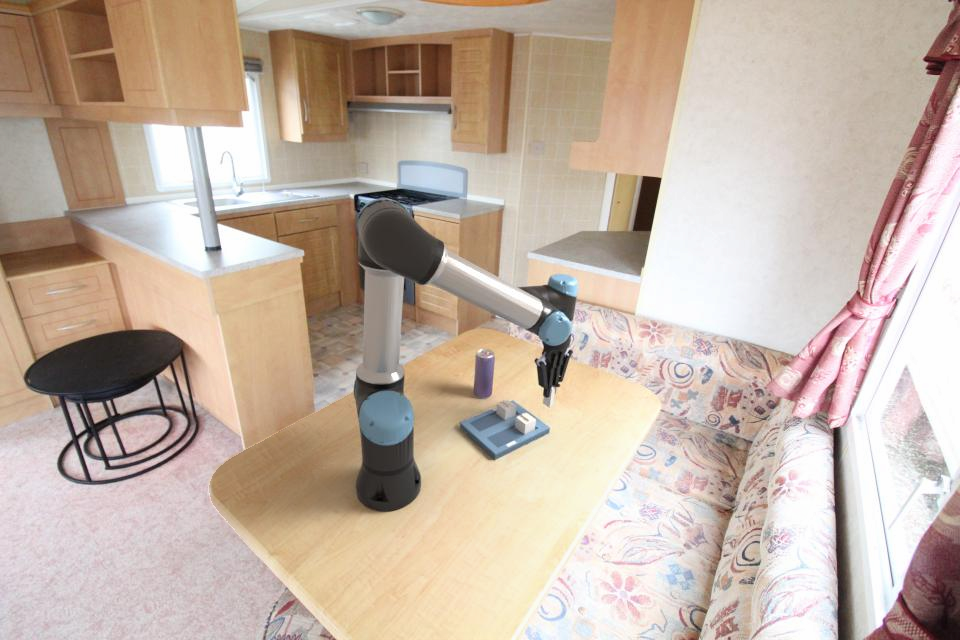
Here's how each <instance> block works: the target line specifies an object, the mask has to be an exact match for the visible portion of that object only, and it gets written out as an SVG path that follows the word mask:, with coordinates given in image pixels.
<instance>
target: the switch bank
mask: <svg viewBox="0 0 960 640" xmlns="http://www.w3.org/2000/svg"><path fill="white" fill-rule="evenodd" d="M510 401H511V402H512V403H513V404H515V405H516V414H515V416H514V417H511V418H509V419H507V420H504V419H503V418H502V417H500V416H499V415H498V414H496V411H497V406H496V407H494V408H493V407H492V408H491V409H488V410H486V411H483V412H481V413H479V414H476V415H474V416H472V417H469V418H467V419H464V420H462V421H460V422H459V428H460V430H462V432H464V433H465V434H466V435H467V436H469V437H470V439H472V440H473V441H474V442H475V444H477V445H478V446H479V447H480V448H481V449H483V451H484V452H486V453H487V454H488V455H489V456H490V457H491V458H492V459H494V461H496V460H498V459H500V458H502V457H504V456H506V455H508V454H511V453H512V452H515V451H516V450H519V449H520V448H522V447H524V446H526V445H528V444H530V443H532V442H534V441H536V440H538V439H540V438H543V437H544V436H546V435H549V434H550V430H551V427H550V426H549V425H547V424H546V423H545V422H543V421H542V420H541V419H539V418H538V417H536V416H535V415H534V414H532V413H531V412H530V411H528V410H527V409H526V408H524V407H523V406H522V405H520V404H519V403H517V402H516V401H515V400H514V399H513V400H510ZM526 412H527V413H528V414H529V415H531V416H532V417H533V418H535V419H536V425H535V430H533V431H531V432H529V433H527V434H525V435H524V434H523V433H522V432H520V431H519V430H518V429H517V428H515V422H516V417H517V416H520V415H521V414H523V413H526Z"/></svg>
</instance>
